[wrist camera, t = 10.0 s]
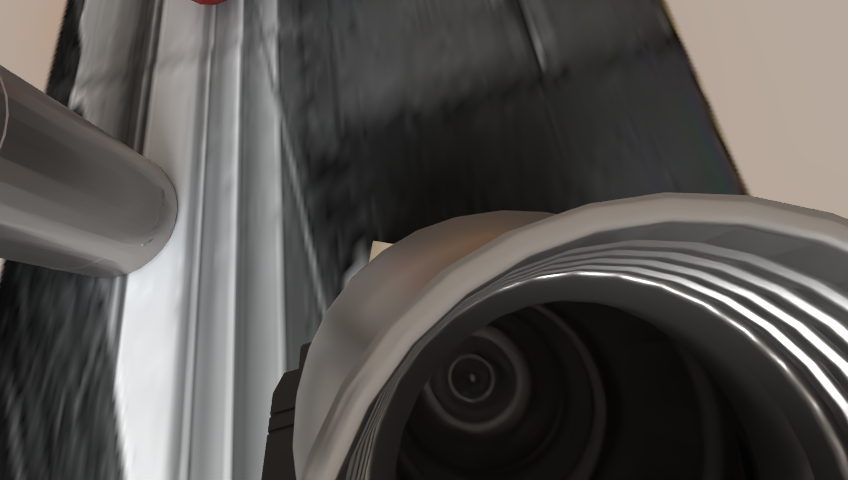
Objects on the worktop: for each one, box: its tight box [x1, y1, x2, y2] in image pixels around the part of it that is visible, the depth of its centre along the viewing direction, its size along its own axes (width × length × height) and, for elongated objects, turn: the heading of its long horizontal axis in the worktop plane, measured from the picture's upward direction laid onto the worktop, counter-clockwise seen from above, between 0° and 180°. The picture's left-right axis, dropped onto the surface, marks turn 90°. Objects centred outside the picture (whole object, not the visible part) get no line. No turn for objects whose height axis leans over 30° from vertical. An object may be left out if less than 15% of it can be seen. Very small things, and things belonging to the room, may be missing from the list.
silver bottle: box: [293, 192, 848, 480], centre depth 12 cm, size 6×7×20 cm
